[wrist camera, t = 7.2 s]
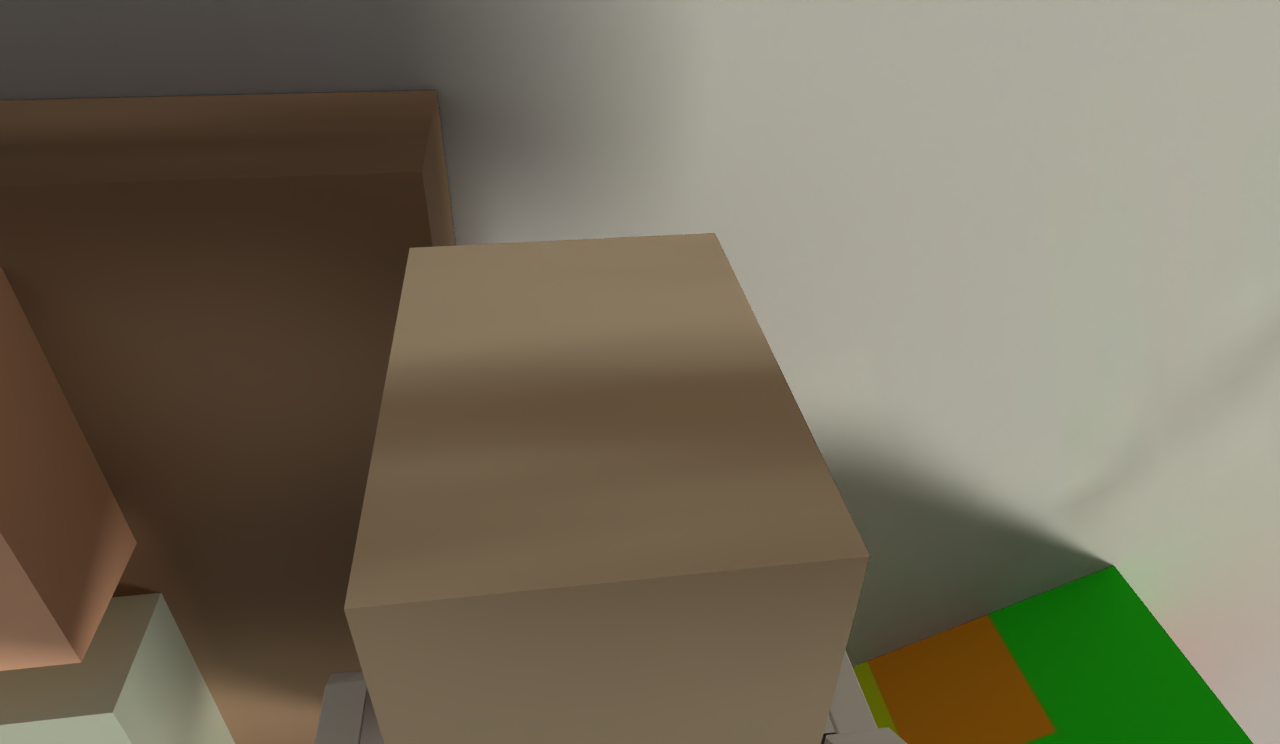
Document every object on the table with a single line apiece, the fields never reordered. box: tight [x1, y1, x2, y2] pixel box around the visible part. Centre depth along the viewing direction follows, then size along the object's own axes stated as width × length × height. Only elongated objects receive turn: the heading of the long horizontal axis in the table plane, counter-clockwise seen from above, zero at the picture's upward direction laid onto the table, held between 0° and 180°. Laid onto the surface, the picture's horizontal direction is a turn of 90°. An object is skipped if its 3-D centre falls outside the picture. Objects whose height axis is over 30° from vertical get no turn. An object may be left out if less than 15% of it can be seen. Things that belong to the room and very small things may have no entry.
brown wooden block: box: [0, 90, 456, 744], centre depth 13 cm, size 12×12×3 cm
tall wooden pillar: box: [344, 233, 870, 744], centre depth 11 cm, size 11×4×5 cm, turn 179°
